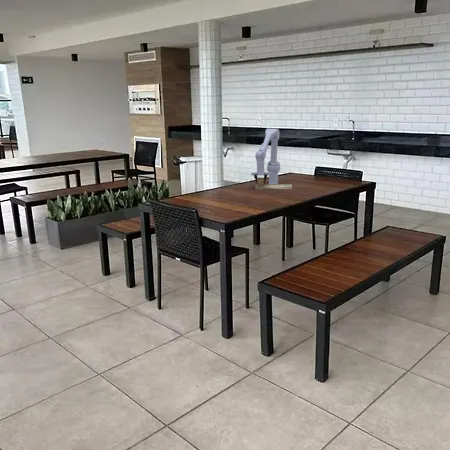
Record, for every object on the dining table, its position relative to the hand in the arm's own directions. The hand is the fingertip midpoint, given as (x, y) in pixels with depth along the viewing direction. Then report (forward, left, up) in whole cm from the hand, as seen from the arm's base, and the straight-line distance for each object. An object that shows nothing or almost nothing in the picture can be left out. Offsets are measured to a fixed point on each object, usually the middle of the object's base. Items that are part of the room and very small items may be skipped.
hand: (260, 184), depth 368 cm
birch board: (0, +10, -3) cm, 10 cm away
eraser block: (0, 0, -1) cm, 1 cm away
